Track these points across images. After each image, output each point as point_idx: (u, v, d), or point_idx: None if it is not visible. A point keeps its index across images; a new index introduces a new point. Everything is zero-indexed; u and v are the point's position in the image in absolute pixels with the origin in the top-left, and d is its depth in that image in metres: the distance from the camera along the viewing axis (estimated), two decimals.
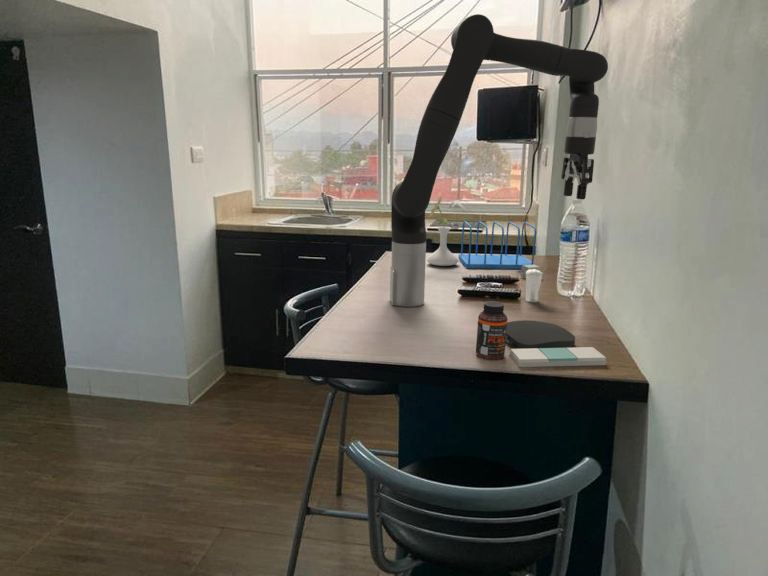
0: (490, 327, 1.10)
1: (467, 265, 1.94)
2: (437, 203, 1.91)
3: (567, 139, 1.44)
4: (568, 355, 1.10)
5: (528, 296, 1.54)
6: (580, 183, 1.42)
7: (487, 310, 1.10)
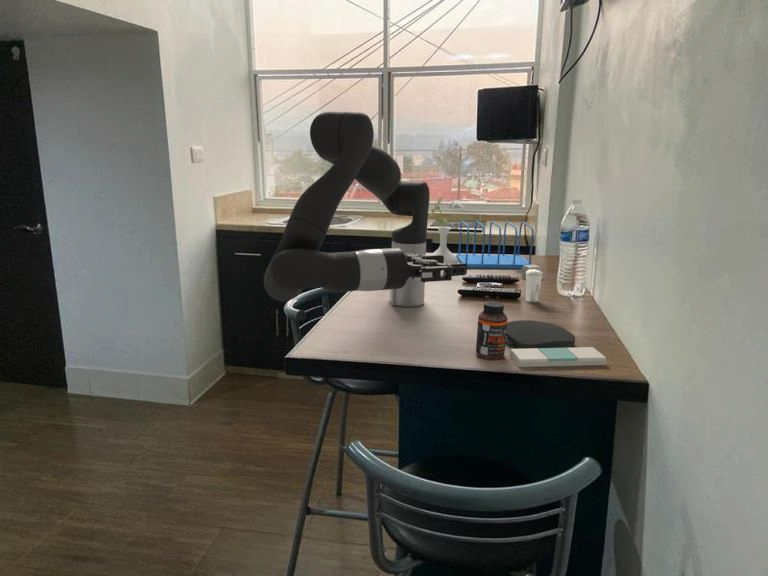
0: (490, 327, 1.10)
1: None
2: (437, 203, 1.91)
3: None
4: (568, 355, 1.10)
5: (528, 296, 1.54)
6: None
7: (487, 310, 1.10)
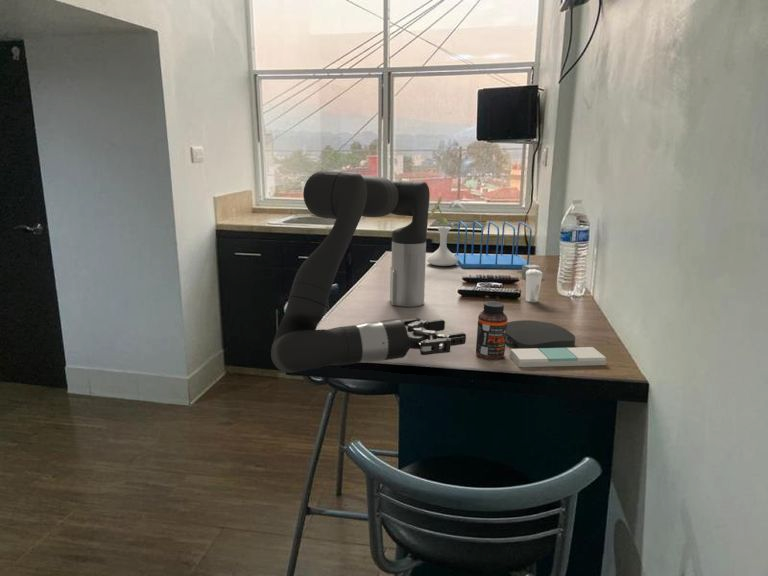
0: (490, 327, 1.10)
1: (462, 265, 1.95)
2: (437, 203, 1.91)
3: (383, 321, 1.03)
4: (568, 355, 1.10)
5: (528, 296, 1.54)
6: None
7: (487, 310, 1.10)
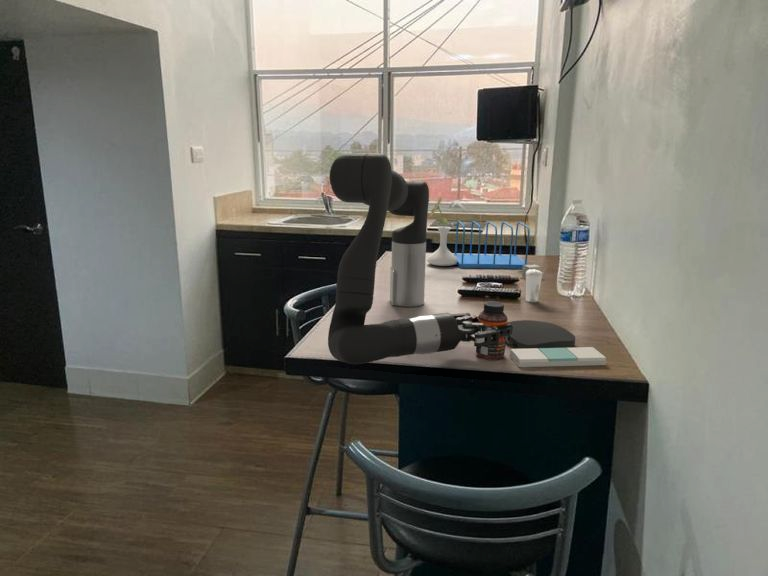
0: None
1: (460, 265, 1.95)
2: (437, 203, 1.91)
3: (434, 314, 1.07)
4: (568, 355, 1.10)
5: (528, 296, 1.54)
6: None
7: (487, 310, 1.10)
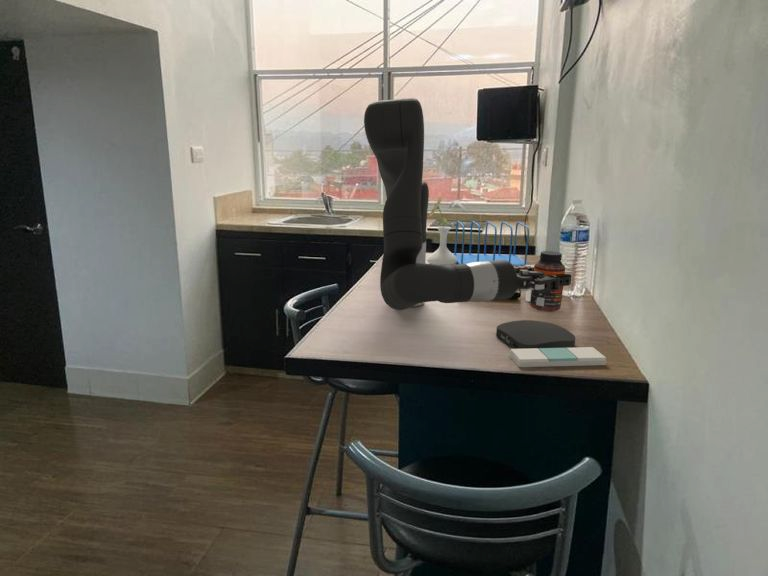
0: None
1: None
2: None
3: (490, 261, 1.02)
4: (568, 355, 1.10)
5: (528, 296, 1.54)
6: None
7: (545, 259, 1.05)
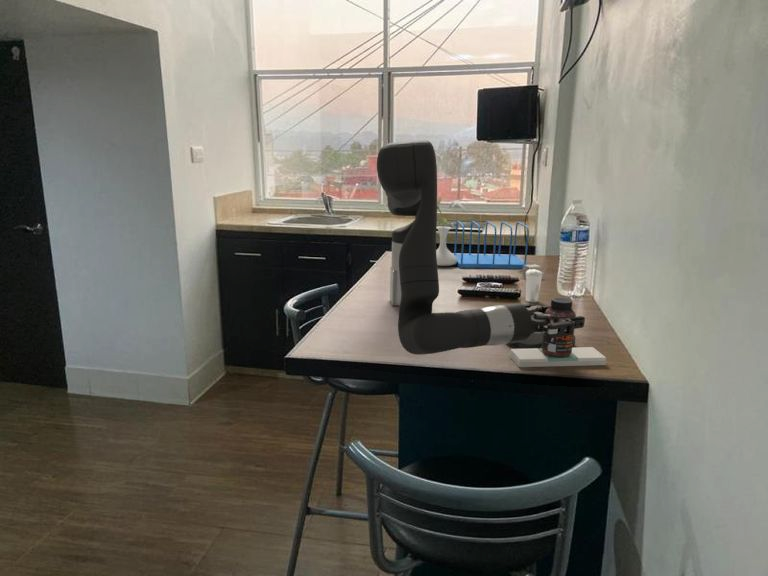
0: None
1: (460, 265, 1.95)
2: (437, 203, 1.91)
3: (505, 304, 1.04)
4: None
5: (528, 296, 1.54)
6: None
7: (556, 307, 1.08)
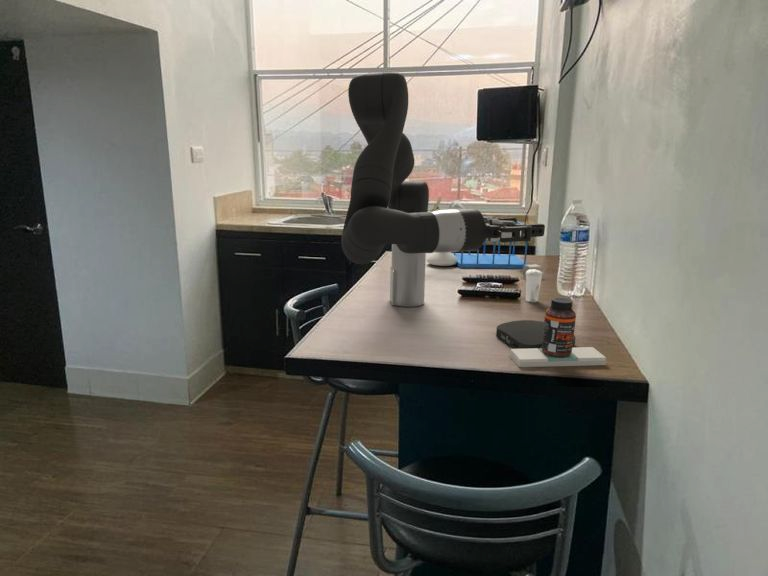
0: (559, 323, 1.07)
1: (460, 265, 1.95)
2: None
3: (458, 209, 0.96)
4: None
5: (528, 296, 1.54)
6: None
7: (556, 307, 1.08)
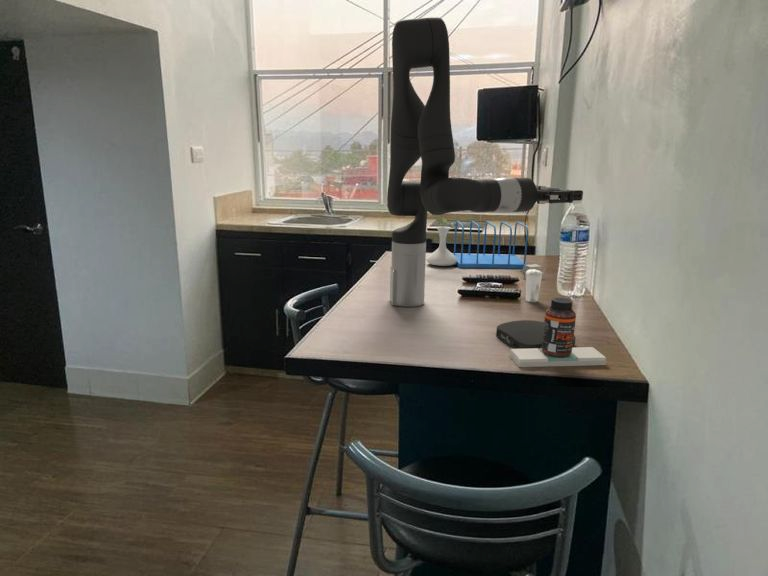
0: (559, 323, 1.07)
1: (459, 264, 1.95)
2: None
3: None
4: None
5: (528, 296, 1.54)
6: None
7: (556, 307, 1.08)
